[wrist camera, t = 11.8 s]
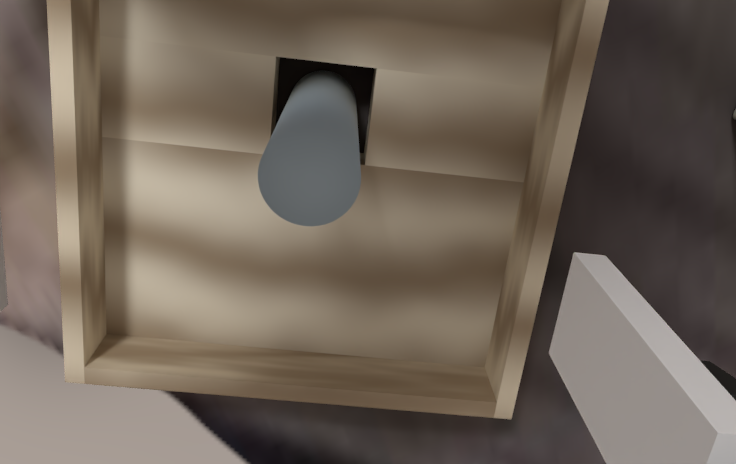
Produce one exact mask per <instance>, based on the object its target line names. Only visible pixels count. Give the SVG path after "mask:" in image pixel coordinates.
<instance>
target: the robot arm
mask: <svg viewBox="0 0 736 464" xmlns="http://www.w3.org/2000/svg"><path fill="white" fill-rule="evenodd" d="M7 305H8V299H7V287H6V275H5V262H4V250H3V238H2V226H1V214H0V312H1V311H2V310H3V309H4V308H5V307H6V306H7ZM549 355H550V357H551V359H552V361H553V363H554V364H555V366H556V368H557V370H558V372H559V374H560V376H561V378H562V380H563V382H564V384H565V386H566V387H567V389H568V391H569V393H570V395H571V397H572V399H573V401H574V403H575V405H576V407H577V408H578V410H579V412H580V414H581V416H582V418H583V420H584V422H585V424H586V426H587V428H588V430H589V431H590V433H591V435H592V437H593V439H594V441H595V443H596V445H597V447H598V449H599V451H600V453H601V454H602V456H603V458H604V460H605V462H606V464H736V379H735V378H734V377H733V376H731V375H730V374H728V373H726V372H725V371H723V370H722V369H720V368H719V367H717V366H716V365H714V364H713V363H711V362H710V361H700V360H699V359H698V358H697V357H696V356H695V355H694V354H693V352H692V351H691V350H690V349H689V348H688V347H687V346H686V345H685V344H684V342H683V341H682V340H681V339H680V338H679V337H678V336H677V335H676V334H675V332H674V331H673V330H672V329H671V328H670V327H669V326H668V325H667V324H666V322H665V321H664V320H663V319H662V318H661V317H660V316H659V315H658V314H657V312H656V311H655V310H654V309H653V308H652V307H651V306H650V305H649V303H648V302H647V301H646V300H645V299H644V298H643V297H642V296H641V295H640V293H639V292H638V291H637V290H636V289H635V288H634V287H633V286H632V285H631V283H630V282H629V281H628V280H627V279H626V278H625V277H624V276H623V275H622V273H621V272H620V271H619V270H618V269H617V268H616V267H615V266H614V265H613V263H612V262H611V261H610V260H609V259H608V258H607V257H606V256H605V255H597V254H587V253H577V252H574V253H573V257H572V261H571V265H570V269H569V273H568V277H567V281H566V285H565V289H564V293H563V297H562V301H561V305H560V310H559V314H558V318H557V322H556V326H555V330H554V334H553V338H552V342H551V346H550V350H549Z"/></svg>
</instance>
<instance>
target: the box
mask: <svg viewBox="0 0 736 464" xmlns="http://www.w3.org/2000/svg"><path fill="white" fill-rule="evenodd" d="M608 4H609V0H47V16H48V36H49V57H50V78H51V98H52V119H53V140H54V160H55V181H56V202H57V222H58V243H59V264H60V284H61V305H62V326H63V346H64V367H65V382H70V383H81V384H94V385H105V386H117V387H130V388H141V389H153V390H165V391H177V392H189V393H201V394H213V395H225V396H237V397H249V398H261V399H273V400H285V401H297V402H309V403H321V404H333V405H345V406H357V407H369V408H381V409H393V410H405V411H417V412H429V413H441V414H453V415H465V416H477V417H489V418H501V419H512V415H513V410H514V406H515V402H516V397H517V393H518V389H519V385H520V380H521V376H522V372H523V367H524V363H525V359H526V355H527V350H528V346H529V342H530V338H531V333H532V329H533V325H534V320H535V316H536V312H537V308H538V303H539V299H540V295H541V290H542V286H543V282H544V278H545V273H546V269H547V265H548V261H549V256H550V252H551V248H552V243H553V239H554V235H555V231H556V226H557V222H558V218H559V213H560V209H561V205H562V201H563V196H564V192H565V188H566V183H567V179H568V175H569V171H570V166H571V162H572V158H573V154H574V149H575V145H576V141H577V136H578V132H579V128H580V124H581V119H582V115H583V111H584V106H585V102H586V98H587V94H588V89H589V85H590V81H591V76H592V72H593V68H594V64H595V59H596V55H597V51H598V47H599V42H600V38H601V34H602V29H603V25H604V21H605V17H606V12H607V8H608ZM280 57H284V58H293V59H301V60H310V61H318V62H326V63H335V64H343V65H352V66H360V67H369V68H374V74H373V82H372V90H371V99H370V107H369V115H368V124H367V132H366V140H365V149H364V153H360V168H361V185H360V190H359V193H358V196H357V198H356V200H355V202H354V203H353V205H352V206H351V208H350V209H349V210H348V211H347V212H346V213H345V214H344V215H343V216H341V217H340V218H338V219H337V220H335V221H333V222H331V223H328V224H325V225H320V226H301V225H297V224H293V223H291V222H288V221H286V220H284V219H283V218H281V217H279V216H278V215H277V214H276V213H274V212H273V211H272V210H271V209H270V207H269V206H268V205H267V203H266V202H265V200H264V198H263V196H262V194H261V192H260V188H259V184H258V167H259V163H260V160H261V157H262V155H263V153H264V151H265V149H266V146H267V144H268V142H269V140H270V138H271V136H272V133H273V131H274V129H275V125H276V111H277V96H278V82H279V68H280Z"/></svg>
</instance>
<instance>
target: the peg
mask: <svg viewBox="0 0 736 464" xmlns="http://www.w3.org/2000/svg"><path fill="white" fill-rule="evenodd" d="M258 184H259V188H260V192H261V194H262V196H263V198H264V200H265V202H266V203H267V205H268V206H269V207H270V209H271V210H272V211H273V212H274V213H276V214H277V215H278V216H279V217H281V218H283V219H284V220H286V221H288V222H291V223H293V224H297V225H301V226H320V225H325V224H328V223H331V222H333V221H335V220H337V219H338V218H340V217H341V216H343V215H344V214H345V213H346V212H347V211H348V210H349V209H350V208H351V206H352V205H353V203H354V202H355V200H356V198H357V196H358V193H359V190H360V185H361V168H360V152H359V136H358V120H357V105H356V97H355V93H354V90H353V89H352V87H351V85H350V84H349V83H348V81H347V80H346V79H344V78H343V77H342V76H340V75H339V74H337V73H334V72H331V71H326V70H320V71H314V72H311V73H309V74H307V75H305V76H304V77H302V78H301V79H300V80H299V81H298V82H297V83H296V85H295V86H294V88H293V90H292V92H291V95H290V97H289V99H288V101H287V103H286V105H285V108H284V110H283V112H282V114H281V116H280V118H279V120H278V123H277V125H276V127H275V129H274V131H273V133H272V136H271V138H270V140H269V142H268V144H267V146H266V149H265V151H264V153H263V155H262V157H261V160H260V163H259V167H258Z"/></svg>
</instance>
